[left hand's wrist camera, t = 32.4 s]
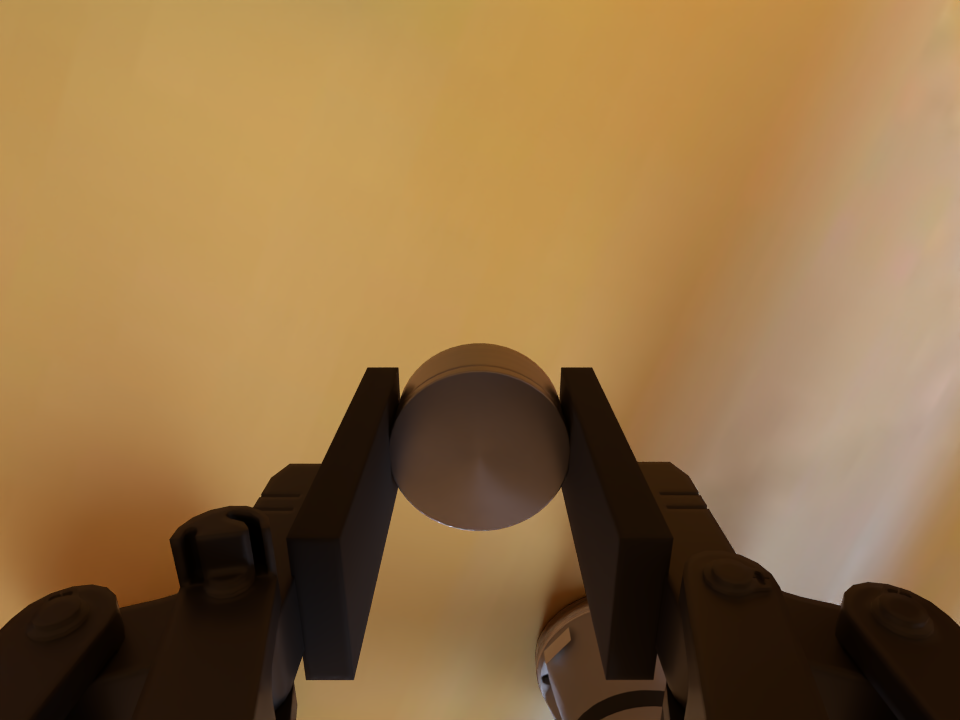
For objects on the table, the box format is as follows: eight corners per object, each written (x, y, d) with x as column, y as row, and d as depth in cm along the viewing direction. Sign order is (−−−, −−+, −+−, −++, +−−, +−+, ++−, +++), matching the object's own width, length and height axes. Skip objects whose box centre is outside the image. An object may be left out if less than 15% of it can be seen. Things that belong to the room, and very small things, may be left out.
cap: (591, 438, 15) (605, 476, 13) (459, 514, 16) (456, 559, 14) (502, 310, 14) (505, 335, 12) (365, 399, 15) (350, 433, 13)
